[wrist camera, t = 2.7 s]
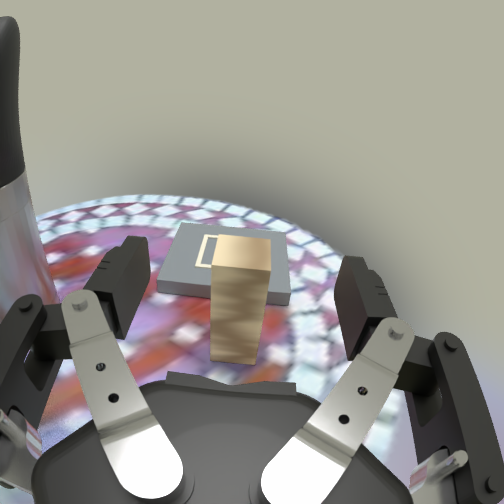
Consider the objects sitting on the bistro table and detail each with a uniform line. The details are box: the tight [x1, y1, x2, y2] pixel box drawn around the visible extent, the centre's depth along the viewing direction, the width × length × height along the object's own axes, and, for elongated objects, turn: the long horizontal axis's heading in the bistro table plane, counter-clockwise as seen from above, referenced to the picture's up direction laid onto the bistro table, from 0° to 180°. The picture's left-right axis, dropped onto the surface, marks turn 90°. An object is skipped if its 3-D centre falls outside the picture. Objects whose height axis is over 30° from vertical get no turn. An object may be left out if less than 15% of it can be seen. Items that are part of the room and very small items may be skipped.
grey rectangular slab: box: [157, 222, 291, 306], centre depth 44 cm, size 16×14×2 cm
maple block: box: [210, 234, 271, 365], centre depth 29 cm, size 4×4×12 cm
